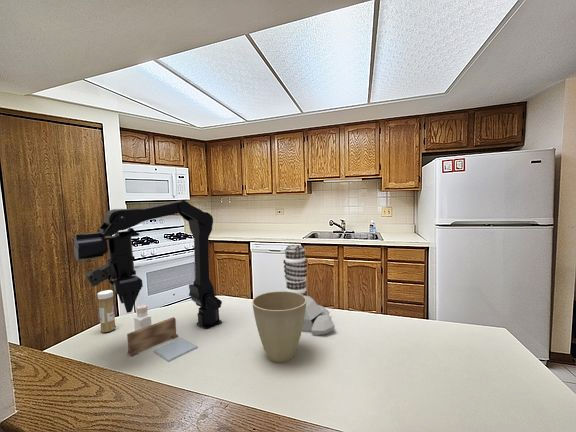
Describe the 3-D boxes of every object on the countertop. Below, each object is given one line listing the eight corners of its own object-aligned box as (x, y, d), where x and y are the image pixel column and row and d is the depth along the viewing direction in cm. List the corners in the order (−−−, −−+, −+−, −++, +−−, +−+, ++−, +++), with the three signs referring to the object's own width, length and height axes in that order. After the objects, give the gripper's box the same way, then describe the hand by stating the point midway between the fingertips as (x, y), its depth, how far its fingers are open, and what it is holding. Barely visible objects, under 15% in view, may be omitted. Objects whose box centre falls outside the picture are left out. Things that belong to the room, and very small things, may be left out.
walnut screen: (172, 334, 94) (171, 316, 93) (177, 337, 92) (176, 318, 91) (127, 352, 83) (125, 333, 83) (131, 356, 81) (130, 336, 80)
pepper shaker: (152, 333, 95) (151, 305, 94) (141, 338, 91) (139, 309, 91) (145, 330, 97) (144, 303, 96) (134, 335, 93) (132, 307, 93)
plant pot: (298, 377, 69) (296, 313, 68) (244, 366, 74) (242, 307, 73) (314, 346, 83) (312, 293, 82) (267, 338, 88) (266, 288, 87)
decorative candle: (301, 315, 105) (299, 248, 103) (280, 310, 110) (278, 247, 108) (312, 307, 113) (310, 244, 111) (292, 303, 118) (290, 243, 116)
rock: (324, 311, 108) (324, 287, 108) (343, 337, 88) (343, 306, 88) (277, 316, 105) (276, 291, 105) (285, 343, 86) (284, 312, 85)
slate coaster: (181, 339, 90) (181, 337, 90) (197, 348, 84) (197, 346, 84) (153, 351, 83) (153, 349, 83) (168, 362, 77) (168, 360, 77)
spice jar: (116, 330, 98) (113, 292, 97) (100, 334, 95) (97, 294, 94) (115, 325, 102) (112, 288, 101) (100, 329, 99) (97, 291, 98)
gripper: (83, 253, 82) (89, 306, 83) (89, 264, 68) (95, 327, 69) (127, 247, 89) (131, 296, 90) (140, 256, 75) (145, 314, 76)
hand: (126, 307), depth 81 cm, fingers open, 9 cm apart
